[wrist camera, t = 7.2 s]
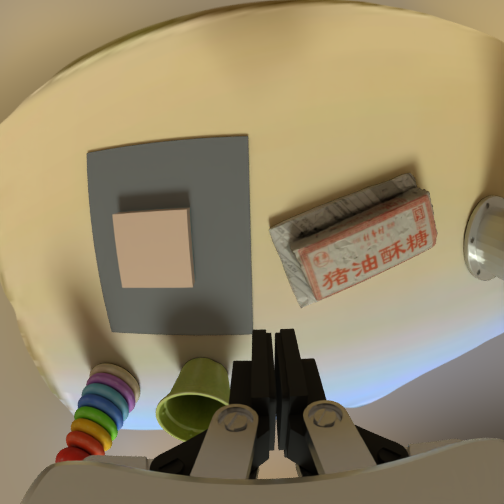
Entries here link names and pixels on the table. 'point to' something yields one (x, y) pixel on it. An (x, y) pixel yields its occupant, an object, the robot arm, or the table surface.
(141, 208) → the mat
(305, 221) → the packaged product
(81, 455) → the stacking toy
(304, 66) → the table surface
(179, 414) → the plant pot
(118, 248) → the tile
